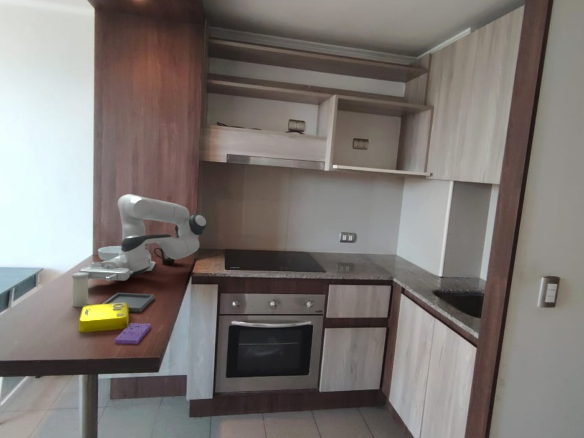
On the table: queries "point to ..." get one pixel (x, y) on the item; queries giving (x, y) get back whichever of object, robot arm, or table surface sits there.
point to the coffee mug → (165, 258)
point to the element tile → (104, 317)
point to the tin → (80, 289)
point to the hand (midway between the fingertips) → (96, 278)
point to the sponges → (133, 333)
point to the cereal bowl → (109, 252)
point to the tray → (131, 300)
